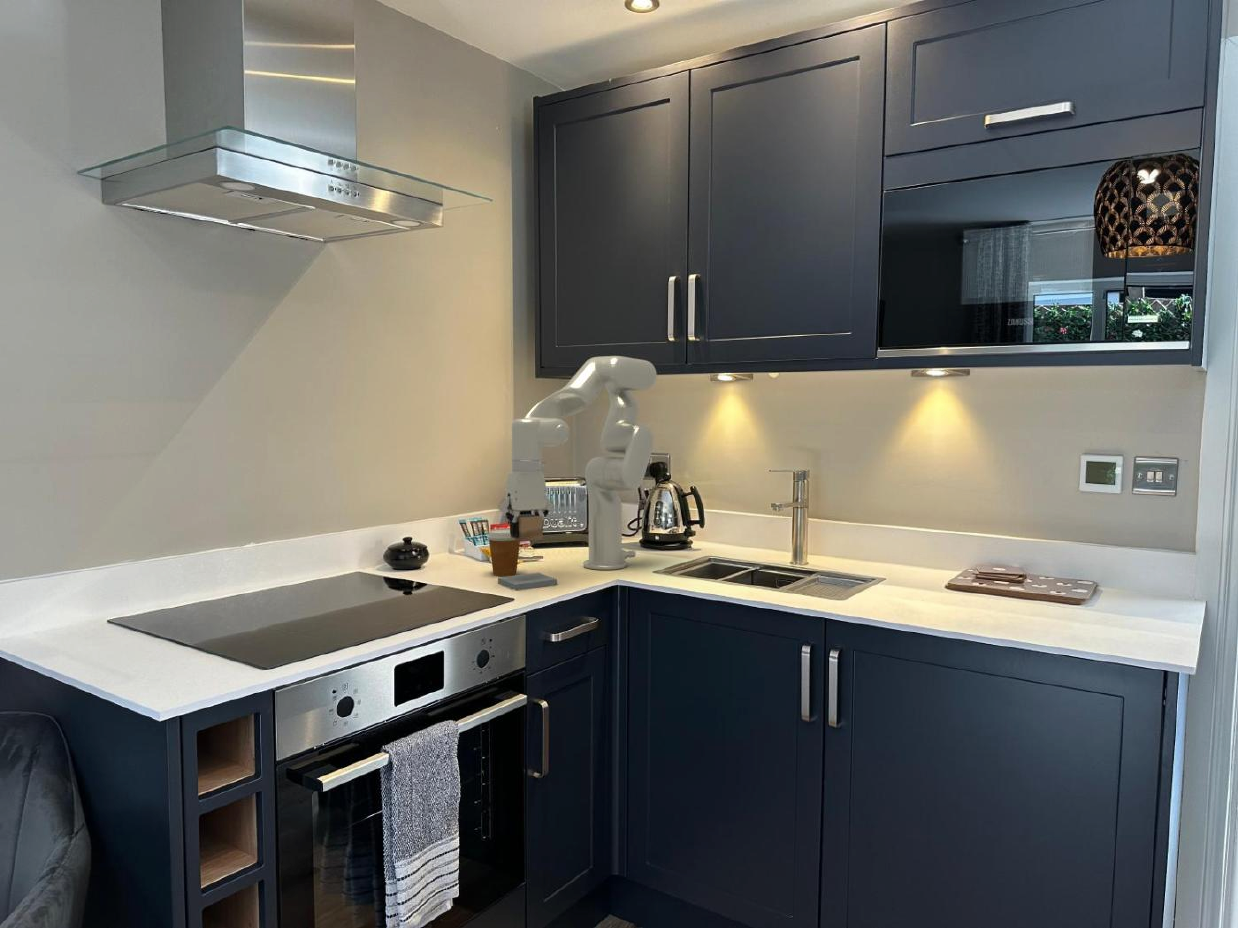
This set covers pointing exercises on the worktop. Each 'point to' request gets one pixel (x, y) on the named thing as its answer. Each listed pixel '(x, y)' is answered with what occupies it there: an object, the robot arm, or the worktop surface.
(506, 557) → the disposable coffee cup
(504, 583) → the slate board
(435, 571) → the worktop surface
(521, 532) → the walnut cube
